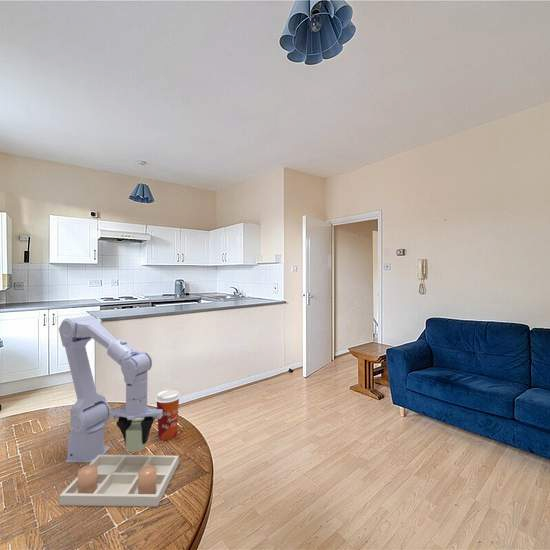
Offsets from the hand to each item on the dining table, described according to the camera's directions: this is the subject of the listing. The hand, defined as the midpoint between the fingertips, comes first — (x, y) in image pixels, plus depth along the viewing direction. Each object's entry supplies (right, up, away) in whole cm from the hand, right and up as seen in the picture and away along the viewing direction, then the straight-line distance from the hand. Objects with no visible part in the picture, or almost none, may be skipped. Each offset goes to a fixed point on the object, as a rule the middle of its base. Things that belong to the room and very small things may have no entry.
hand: (136, 442), depth 88 cm
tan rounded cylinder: (-8, -8, -10) cm, 15 cm away
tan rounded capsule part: (+7, -8, -10) cm, 14 cm away
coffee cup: (+2, -8, +19) cm, 21 cm away
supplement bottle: (-8, -8, +19) cm, 22 cm away
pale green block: (0, -2, 0) cm, 2 cm away
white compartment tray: (-1, -9, -6) cm, 10 cm away
